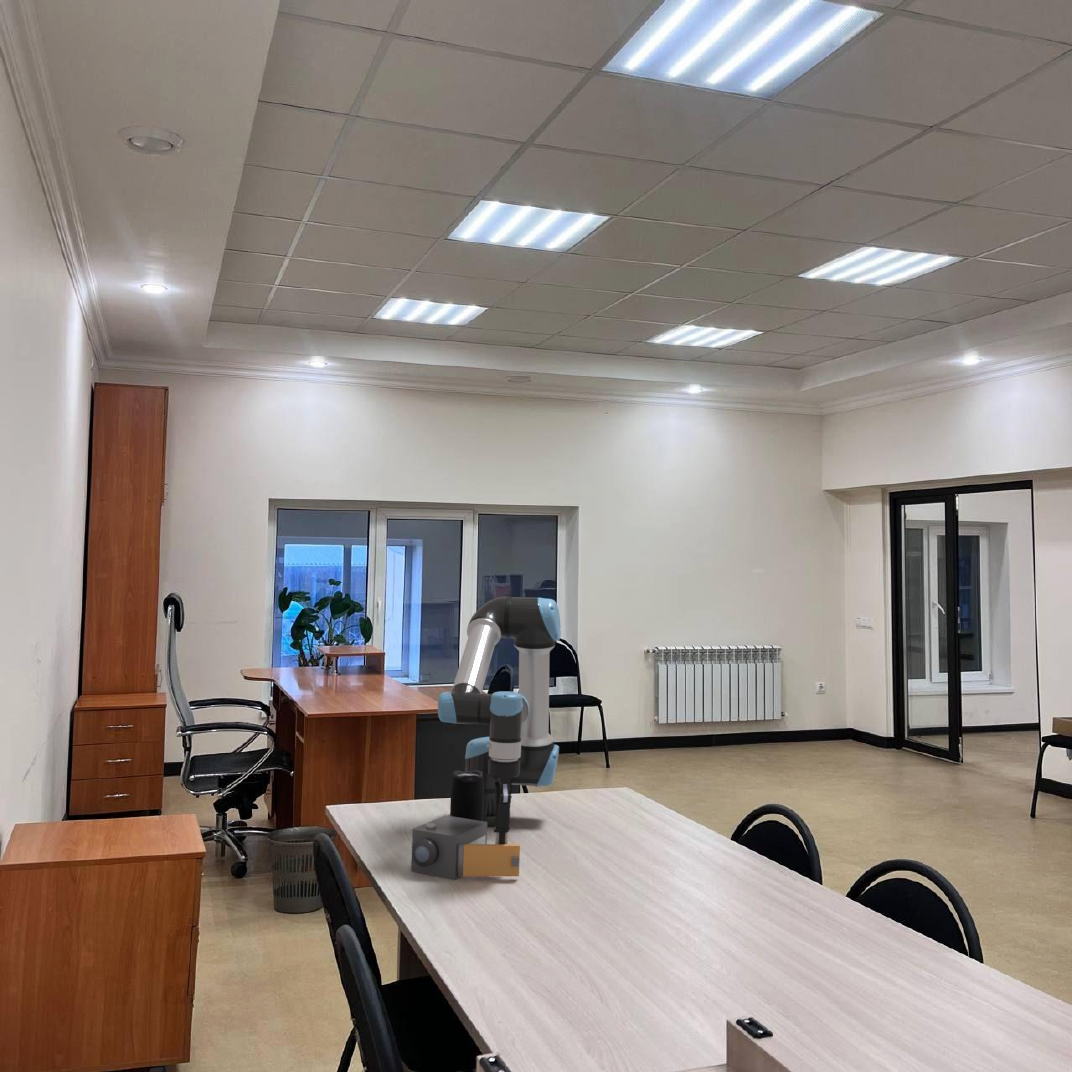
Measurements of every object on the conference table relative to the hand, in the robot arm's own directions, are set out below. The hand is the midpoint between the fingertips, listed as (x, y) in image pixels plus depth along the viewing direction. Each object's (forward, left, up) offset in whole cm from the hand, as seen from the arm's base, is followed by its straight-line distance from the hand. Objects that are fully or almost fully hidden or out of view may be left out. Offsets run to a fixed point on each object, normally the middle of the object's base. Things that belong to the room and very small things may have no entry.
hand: (500, 859), depth 228 cm
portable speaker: (-15, -18, -4) cm, 23 cm away
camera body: (+2, -14, -4) cm, 14 cm away
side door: (+4, -1, -3) cm, 5 cm away
